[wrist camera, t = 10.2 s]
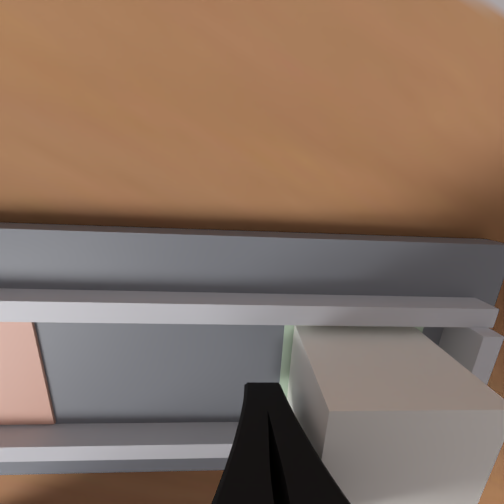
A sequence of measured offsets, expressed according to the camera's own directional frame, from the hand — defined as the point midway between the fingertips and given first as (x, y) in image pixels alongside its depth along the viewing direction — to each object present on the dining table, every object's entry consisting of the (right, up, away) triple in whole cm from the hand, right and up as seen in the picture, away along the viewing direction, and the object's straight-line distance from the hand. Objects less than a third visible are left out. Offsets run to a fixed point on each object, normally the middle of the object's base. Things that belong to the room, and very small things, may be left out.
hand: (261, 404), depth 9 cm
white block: (+4, 0, +2) cm, 4 cm away
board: (-3, +1, +3) cm, 4 cm away
